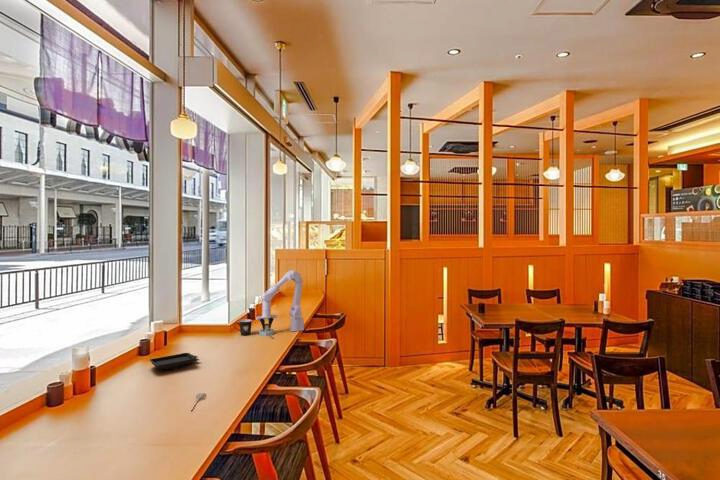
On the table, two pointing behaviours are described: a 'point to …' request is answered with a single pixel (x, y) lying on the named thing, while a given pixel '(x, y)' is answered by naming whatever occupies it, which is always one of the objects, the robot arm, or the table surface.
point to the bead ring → (266, 332)
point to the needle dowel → (266, 327)
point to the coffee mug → (245, 327)
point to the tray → (173, 361)
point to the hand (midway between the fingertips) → (266, 329)
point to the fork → (199, 396)
